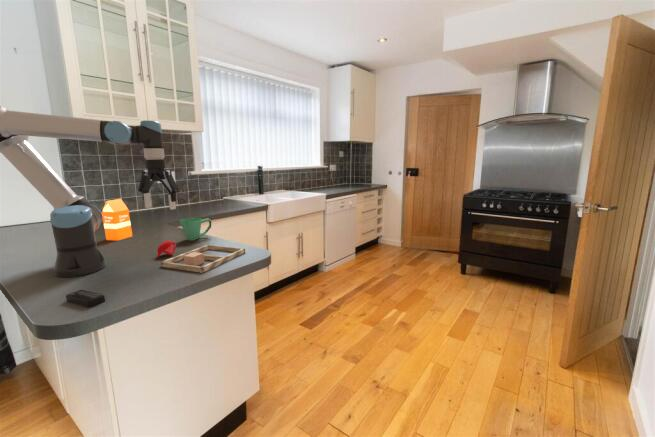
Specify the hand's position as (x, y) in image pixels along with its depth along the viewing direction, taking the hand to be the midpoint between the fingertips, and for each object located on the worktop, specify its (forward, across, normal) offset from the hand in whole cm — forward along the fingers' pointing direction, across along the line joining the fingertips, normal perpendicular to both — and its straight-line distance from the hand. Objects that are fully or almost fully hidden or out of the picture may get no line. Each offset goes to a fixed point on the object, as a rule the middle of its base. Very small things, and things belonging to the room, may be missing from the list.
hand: (160, 208), depth 138 cm
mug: (+19, 0, -21) cm, 28 cm away
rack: (+18, -27, +6) cm, 33 cm away
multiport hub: (+20, -18, +47) cm, 54 cm away
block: (+19, -26, +12) cm, 35 cm away
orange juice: (+19, +41, -11) cm, 47 cm away
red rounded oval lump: (+19, -7, +6) cm, 21 cm away
